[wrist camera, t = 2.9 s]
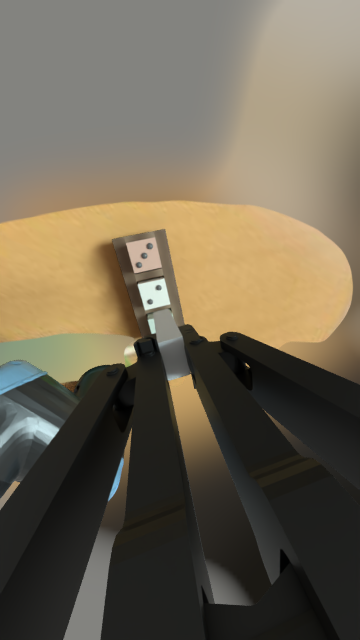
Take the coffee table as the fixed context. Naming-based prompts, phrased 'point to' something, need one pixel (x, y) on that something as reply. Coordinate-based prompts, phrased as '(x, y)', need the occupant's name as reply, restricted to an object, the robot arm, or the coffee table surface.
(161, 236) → the board
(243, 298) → the coffee table surface
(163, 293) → the tile two
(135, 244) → the tile three
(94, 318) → the coffee table surface
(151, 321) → the tile one
